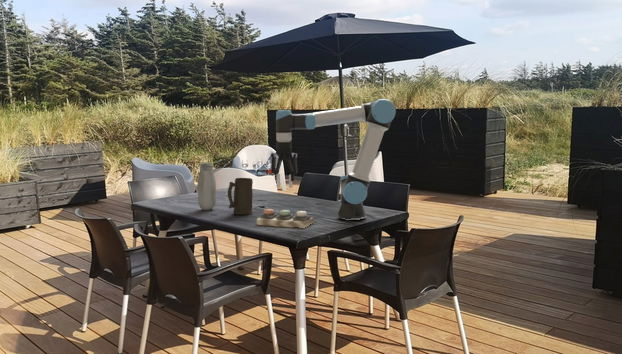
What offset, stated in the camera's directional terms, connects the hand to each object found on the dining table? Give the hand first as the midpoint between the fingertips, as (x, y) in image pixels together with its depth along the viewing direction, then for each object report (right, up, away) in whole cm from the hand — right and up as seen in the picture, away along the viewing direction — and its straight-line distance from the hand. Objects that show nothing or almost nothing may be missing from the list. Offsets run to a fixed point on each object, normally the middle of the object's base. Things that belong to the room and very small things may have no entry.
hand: (284, 187), depth 258 cm
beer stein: (-26, -16, +30) cm, 43 cm away
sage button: (0, -14, +2) cm, 14 cm away
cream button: (+9, -14, -1) cm, 17 cm away
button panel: (0, -19, +2) cm, 19 cm away
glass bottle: (-48, -14, +44) cm, 66 cm away
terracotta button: (-8, -14, +5) cm, 17 cm away
